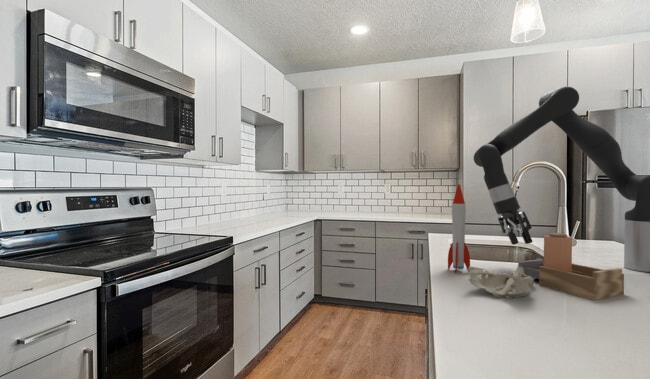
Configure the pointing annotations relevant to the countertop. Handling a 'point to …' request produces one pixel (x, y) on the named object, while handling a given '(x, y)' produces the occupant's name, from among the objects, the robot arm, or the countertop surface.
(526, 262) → the tray
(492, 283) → the anatomical model
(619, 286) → the dock
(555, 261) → the tin
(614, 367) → the countertop surface
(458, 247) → the toy rocket
